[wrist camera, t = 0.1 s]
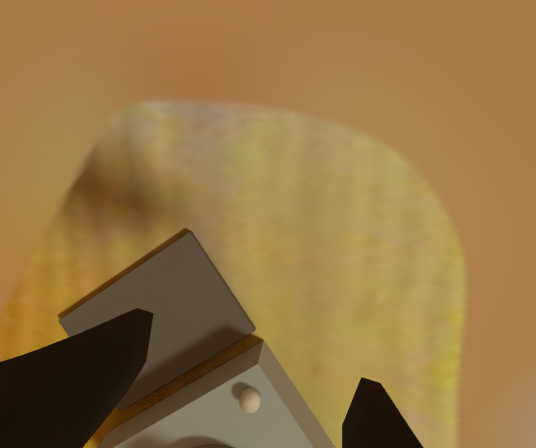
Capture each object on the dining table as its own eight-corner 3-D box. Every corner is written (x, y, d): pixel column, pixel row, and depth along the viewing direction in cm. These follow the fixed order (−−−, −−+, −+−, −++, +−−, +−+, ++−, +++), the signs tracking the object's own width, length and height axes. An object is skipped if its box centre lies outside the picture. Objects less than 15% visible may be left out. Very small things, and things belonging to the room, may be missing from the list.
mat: (122, 407, 23) (119, 411, 22) (62, 318, 22) (58, 320, 22) (255, 328, 21) (255, 330, 21) (191, 231, 21) (189, 231, 20)
